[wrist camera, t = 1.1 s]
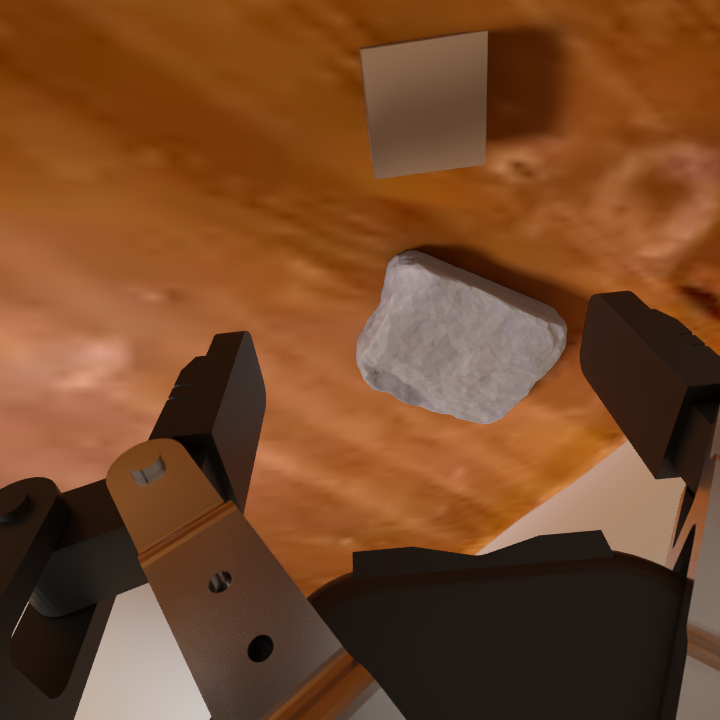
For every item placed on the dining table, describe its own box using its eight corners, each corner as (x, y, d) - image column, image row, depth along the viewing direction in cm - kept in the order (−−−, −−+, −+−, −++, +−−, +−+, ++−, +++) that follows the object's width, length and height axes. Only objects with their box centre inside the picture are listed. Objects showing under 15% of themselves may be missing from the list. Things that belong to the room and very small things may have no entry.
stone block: (485, 392, 38) (570, 298, 31) (492, 442, 34) (589, 348, 28) (343, 341, 35) (402, 227, 29) (335, 389, 32) (399, 272, 25)
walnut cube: (358, 47, 23) (361, 49, 19) (462, 32, 23) (487, 30, 19) (370, 157, 26) (374, 179, 22) (463, 144, 26) (485, 164, 22)
